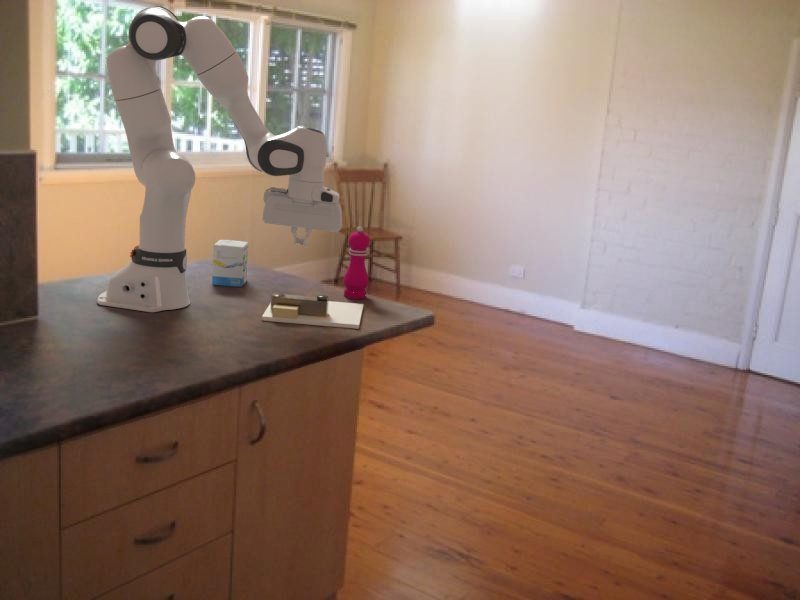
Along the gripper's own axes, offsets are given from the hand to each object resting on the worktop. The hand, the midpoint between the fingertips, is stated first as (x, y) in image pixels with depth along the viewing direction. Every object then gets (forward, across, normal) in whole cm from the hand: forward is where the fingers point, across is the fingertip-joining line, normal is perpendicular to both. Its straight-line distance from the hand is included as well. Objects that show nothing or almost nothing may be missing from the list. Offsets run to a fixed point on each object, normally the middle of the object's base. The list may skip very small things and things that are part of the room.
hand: (300, 244), depth 226 cm
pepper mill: (+16, +15, +17) cm, 28 cm away
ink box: (+18, -21, +20) cm, 34 cm away
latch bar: (+16, +2, -9) cm, 18 cm away
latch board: (+17, +6, -4) cm, 18 cm away
